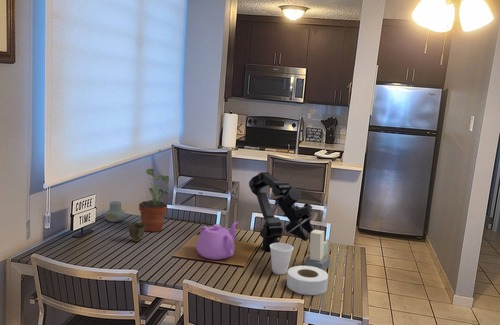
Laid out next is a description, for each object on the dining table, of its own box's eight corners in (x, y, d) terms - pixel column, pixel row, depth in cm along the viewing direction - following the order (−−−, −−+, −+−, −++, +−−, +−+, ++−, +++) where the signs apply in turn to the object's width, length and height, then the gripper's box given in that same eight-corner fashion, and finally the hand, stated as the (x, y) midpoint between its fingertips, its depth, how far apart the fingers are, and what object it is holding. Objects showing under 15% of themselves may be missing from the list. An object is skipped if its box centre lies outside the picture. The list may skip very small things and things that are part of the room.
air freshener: (101, 221, 234) (102, 203, 233) (109, 217, 242) (109, 199, 241) (121, 224, 233) (121, 205, 231) (128, 219, 241) (128, 201, 239)
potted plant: (165, 235, 220) (168, 165, 215) (134, 232, 220) (137, 163, 215) (171, 225, 235) (174, 160, 230) (142, 223, 235) (145, 158, 230)
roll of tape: (281, 290, 168) (282, 276, 167) (292, 275, 183) (293, 262, 182) (322, 299, 163) (324, 285, 162) (330, 283, 177) (331, 269, 177)
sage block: (321, 257, 205) (323, 244, 204) (312, 253, 208) (313, 241, 208) (327, 254, 209) (328, 242, 208) (318, 251, 212) (319, 239, 211)
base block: (304, 267, 192) (305, 259, 191) (312, 262, 198) (313, 254, 198) (321, 273, 187) (322, 264, 187) (328, 267, 194) (329, 258, 193)
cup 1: (125, 242, 206) (125, 225, 205) (134, 237, 213) (135, 221, 212) (138, 245, 204) (138, 228, 202) (147, 240, 211) (148, 224, 209)
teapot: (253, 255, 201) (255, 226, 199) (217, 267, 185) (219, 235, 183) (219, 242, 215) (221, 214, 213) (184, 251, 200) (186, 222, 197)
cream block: (309, 259, 191) (310, 232, 189) (313, 256, 195) (314, 229, 194) (319, 261, 189) (320, 233, 187) (323, 257, 193) (324, 231, 192)
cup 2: (275, 278, 178) (277, 251, 176) (263, 268, 187) (265, 243, 185) (296, 274, 183) (298, 249, 181) (283, 265, 191) (285, 241, 189)
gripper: (294, 202, 184) (317, 233, 181) (309, 194, 200) (330, 222, 197) (275, 217, 189) (297, 247, 186) (291, 208, 205) (311, 236, 202)
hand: (310, 237), depth 193 cm, fingers open, 9 cm apart
